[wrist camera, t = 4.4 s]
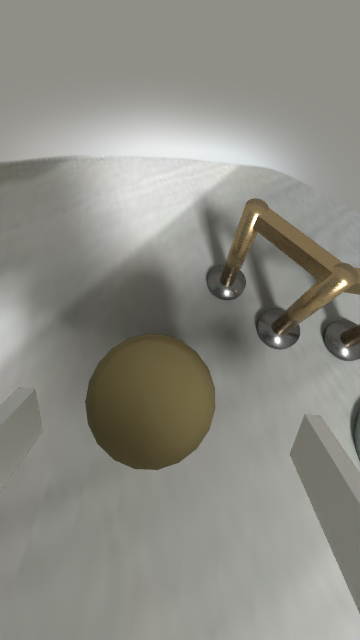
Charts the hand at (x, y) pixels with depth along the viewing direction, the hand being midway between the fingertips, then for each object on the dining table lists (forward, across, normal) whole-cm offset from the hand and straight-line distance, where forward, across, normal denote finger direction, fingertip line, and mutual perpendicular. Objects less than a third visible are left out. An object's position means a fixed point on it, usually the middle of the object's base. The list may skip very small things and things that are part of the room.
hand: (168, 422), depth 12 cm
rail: (+12, +10, +2) cm, 16 cm away
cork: (+6, -1, -4) cm, 7 cm away
